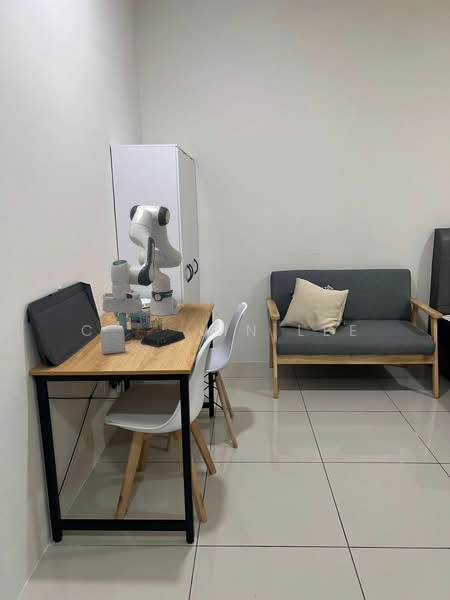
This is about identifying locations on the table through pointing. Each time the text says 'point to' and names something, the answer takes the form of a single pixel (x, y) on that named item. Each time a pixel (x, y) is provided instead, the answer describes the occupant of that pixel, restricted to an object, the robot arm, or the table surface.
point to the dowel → (123, 322)
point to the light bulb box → (140, 319)
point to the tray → (130, 334)
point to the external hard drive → (162, 338)
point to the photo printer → (112, 339)
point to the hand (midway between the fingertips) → (123, 321)
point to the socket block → (144, 332)
